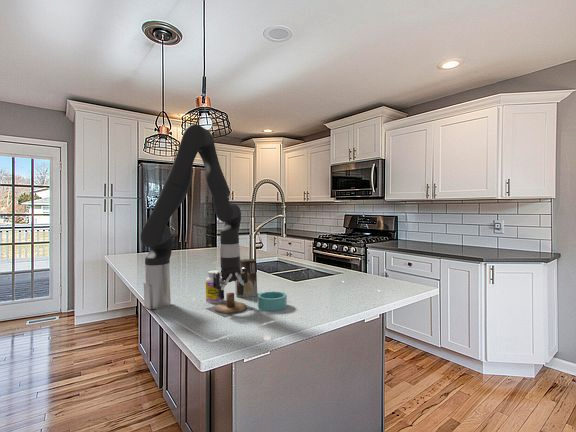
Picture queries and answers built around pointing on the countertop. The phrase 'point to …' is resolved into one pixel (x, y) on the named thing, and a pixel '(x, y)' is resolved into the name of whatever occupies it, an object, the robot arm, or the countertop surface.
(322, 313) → the countertop surface
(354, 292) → the countertop surface
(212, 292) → the supplement bottle
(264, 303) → the bowl
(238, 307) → the lid
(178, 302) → the countertop surface
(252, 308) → the mat
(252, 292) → the coffee box
